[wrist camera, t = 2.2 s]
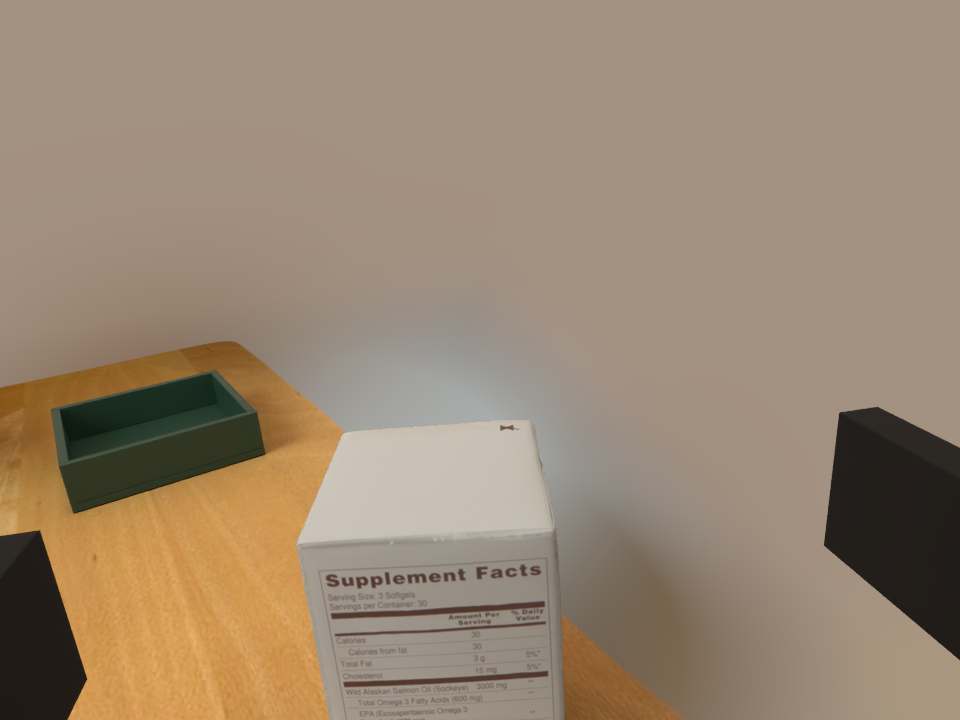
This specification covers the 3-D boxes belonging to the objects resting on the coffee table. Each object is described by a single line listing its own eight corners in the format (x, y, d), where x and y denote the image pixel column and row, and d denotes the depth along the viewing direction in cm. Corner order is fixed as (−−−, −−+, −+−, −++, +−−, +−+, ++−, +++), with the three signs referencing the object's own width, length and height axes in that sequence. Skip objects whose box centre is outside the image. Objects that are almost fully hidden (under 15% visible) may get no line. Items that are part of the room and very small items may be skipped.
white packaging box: (381, 691, 29) (341, 426, 25) (552, 682, 29) (539, 413, 25) (349, 869, 22) (286, 541, 18) (574, 857, 22) (562, 524, 18)
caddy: (265, 454, 52) (257, 412, 51) (73, 513, 46) (59, 466, 44) (223, 405, 63) (216, 369, 62) (62, 448, 56) (50, 408, 55)
